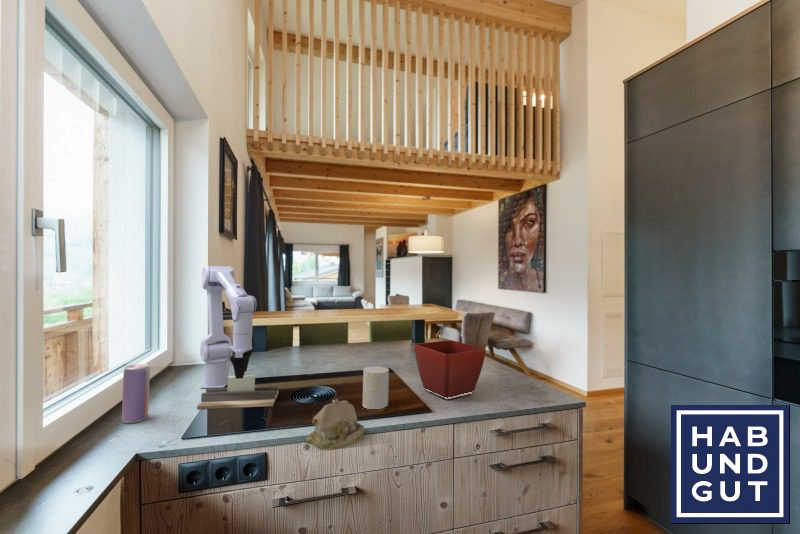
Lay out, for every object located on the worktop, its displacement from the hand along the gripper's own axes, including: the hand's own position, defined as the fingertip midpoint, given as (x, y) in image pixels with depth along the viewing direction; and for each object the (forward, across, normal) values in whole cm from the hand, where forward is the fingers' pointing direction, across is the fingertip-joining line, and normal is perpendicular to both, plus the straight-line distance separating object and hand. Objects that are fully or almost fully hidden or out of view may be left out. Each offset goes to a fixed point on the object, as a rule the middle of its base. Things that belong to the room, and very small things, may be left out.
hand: (241, 374), depth 117 cm
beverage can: (+9, +10, -26) cm, 29 cm away
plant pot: (+8, +7, +71) cm, 72 cm away
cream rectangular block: (+7, 0, 0) cm, 7 cm away
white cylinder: (+8, +15, +42) cm, 45 cm away
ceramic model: (+9, +34, +27) cm, 44 cm away
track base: (+8, 0, 0) cm, 8 cm away
